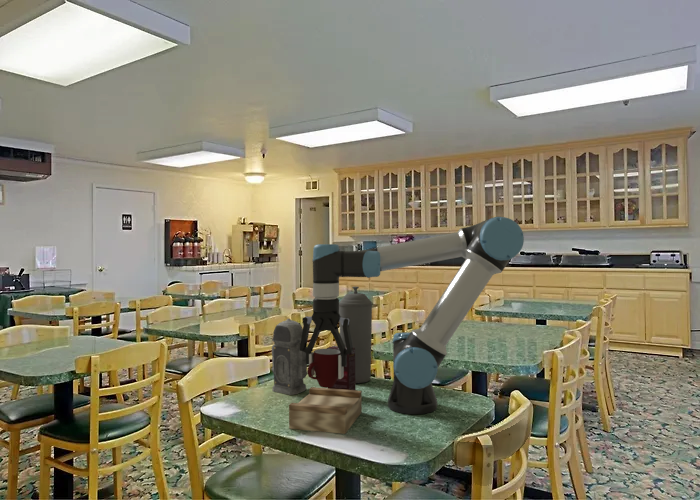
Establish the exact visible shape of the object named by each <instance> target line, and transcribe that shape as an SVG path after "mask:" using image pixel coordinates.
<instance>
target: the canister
mask: <svg viewBox="0 0 700 500" xmlns="http://www.w3.org/2000/svg"><path fill="white" fill-rule="evenodd" d="M352 289H353V292H352V293H347V294H345V295H344V296H343V297H342V299H340V300H339V314H340V316H341V317H342V318H349V319H350V324H349V328H350V334H351V340H352V345H353V348H355V384H364V383H367V382H369V381H371V374H372V373H371V372H372V366H371V365H372V330H373V329H372V328H373V326H372V325H373V323H372V321H373V319H372V318H373V302H372V301H371V299H370V298H368V296H367V295H366V294H364V293H361V292H360V293H359V292H358V289H360V288H359V286H352ZM338 324H339V333H340V336H341V338H342V340H343V343H344V345H345V347H346V343H345V338H344V332H343V325H341V322H340V321H339V323H338Z"/></svg>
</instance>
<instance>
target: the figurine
mask: <svg viewBox="0 0 700 500" xmlns="http://www.w3.org/2000/svg"><path fill="white" fill-rule="evenodd" d="M302 331H303V325H302V324H300V323H299V322H297V321H296V320H291V318H286V320H282V321H281V322H279V323H278V324H276V326H275V328H274V331H273V335H272V342H273V343H274V344H272V346H271V361H272V363H271V364H272V367H271V371H272V373H273V386H272V392H275V393H280V394H285V395H289V396H291V395H298V394H300V393H302V392H305V391H306V390H307V385H306V384H305V383H304V379H305V378H307V376H308V373H307V370H308V364H306V353H305V352H303V351H300V343H301V337H302Z"/></svg>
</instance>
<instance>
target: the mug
mask: <svg viewBox="0 0 700 500" xmlns="http://www.w3.org/2000/svg"><path fill="white" fill-rule="evenodd" d="M313 352H314V358H313V359H314V362H312V363H311V364H310V365H308V366H307V376H308V377H309V378H310V379H312V380H316V381H317V383H318V386H319V387H320V388H330V387H333V386H334V384H335V382H336V380H337V378H338V356H339V355H340V354H341V353H340V351H339V350H336V349H327V348H318V349H315V350H314V351H313ZM313 367H314V368H315V375H314V376H312V373H311V372H312V368H313Z"/></svg>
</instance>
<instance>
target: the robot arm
mask: <svg viewBox="0 0 700 500" xmlns="http://www.w3.org/2000/svg"><path fill="white" fill-rule="evenodd" d="M524 240H525V235H524V232H523V230H522V227H521V226H520V225H519V224H518V222H516V221H515V220H514V219H511V218H509V217H504V216H494V217H491V218H489V219H486V220H482V221H481V222H477V223H476V224H474V225H470V226H467V227H466V226H465V227H461V228H459V230H458V231H457V232H452V233H448V234H442V235H438V236H432V237H426V238H422V239H421V238H420V239H415V240H410V241H406V242H401V243H400V242H399V243H394V244H390V245H385V246H379V247H373V248H367V249H361V250H341V249H340V245H339V244H337V243H335V244H334V243H333V244H332V243H331V244H330V243H329V244H328V243H325V244H324V243H322V244H321V243H319V244H314V246H313V251H312V252H313V253H312V296H313V300H312V315H311V316H304V317H302V328H303V331H302V337H301V343H300V351H303V352H305V353H306V364H307V366H309V365H310V364H311V363H312V362H314V359H313V358H314V351H313V349H314V347H315V345H316V342H317V340H318V337H319V335H320V334H321V331H328V332H330V334H332V336H333V339H334V341H335V343H336V346H338V348H339V351H340V353H341V354H340V355H339V356H338V379H342V378H343V377H344V367H345V366H346V365H347V354H350V353H352V352H353V345H352V340H351V334H350V328H349V324H350V319H349V318H342V317H341V316H340V314H339V302H340V299H339V298H338V297H340V278H367V279H368V278H377V277H380V276H381V272H384V271H390V270H396V269H402V268H406V267H407V268H408V267H412V266H417V265H423V264H429V263H435V262H441V261H445V260H450V259H451V260H452V259H456V258H463V259H465V260H464V262H463V263H462V264H461V266H460V267H459V268H458V271H457V272H456V273H455V275H454V276H453V278H452V279H451V281H450V282H449V284H448V285H447V287H446V289H445V290H444V291H443V293H442V295H441V296H440V298H439V299H438V301H437V302H436V304H435V305H434V306H433V308H432V309H431V310H430V313H429V314H428V316H427V317H426V319H425V320H424V322H423V323H422V325H421V326H420V328H419V327H418V328H417V329H412V330H411V331H410V332H396V333H395V334H393V336H392V337H393V338H392V339H393V340H392V345H393V346H392V347H393V349H392V350H393V352H392V354H393V356H392V358H393V364H392V365H393V366H392V368H393V381H392V385H391V389H390V392H389V395H388V397H387V407H388V409H390V410H391V411H392V412H393V411H394V412H396V413H400V414H407V415H424V414H425V415H426V414H430V413H432V412H434V411H436V410H437V409H438V399H437V396H436V393H435V390H434V389H435V388H434V387H433V384H432V383H433V382H434V380H435V379H436V377H437V375H438V371H439V366H440V365H441V363H442V362H443V361H444V359H445V357H446V356H447V354H448V352H447V345H448V343H449V341H450V340H451V339H452V337H453V336H454V334H455V333H456V331H457V329H458V328H459V327H460V325H461V323H462V322H463V320H465V318H466V316H467V314H468V313H469V311H470V310H471V308H473V305H474V304H475V302H476V301H477V300H478V298H479V296H480V295H481V294H482V292H483V291H484V289H485V287H486V286H487V284H488V283H489V282H490V280H491V279H492V277H493V276H494V275H496V274H502V272H503V271H504V269H505V268H506V267H507V265H508V263H509V262H510V260H511V259H514V258H516V257H517V255H518V254H519V253H520V252H521V250H522V248H523V246H524V243H525V241H524ZM339 321H340V322H341V325H343V332H344V338H345V343H346V347H345V345H344V343H343V340H342V338H341V336H340V328H339V327H338V324H339ZM312 323H314V325H315V327H314V329H313V332H312V334H311V337H310V339H309V334H310V328H311V324H312ZM308 339H309V341H308ZM346 349H347V350H346ZM311 373H312V376H313V377H315V376H316V375H315V368H314V367H313V368H312V372H311Z"/></svg>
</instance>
